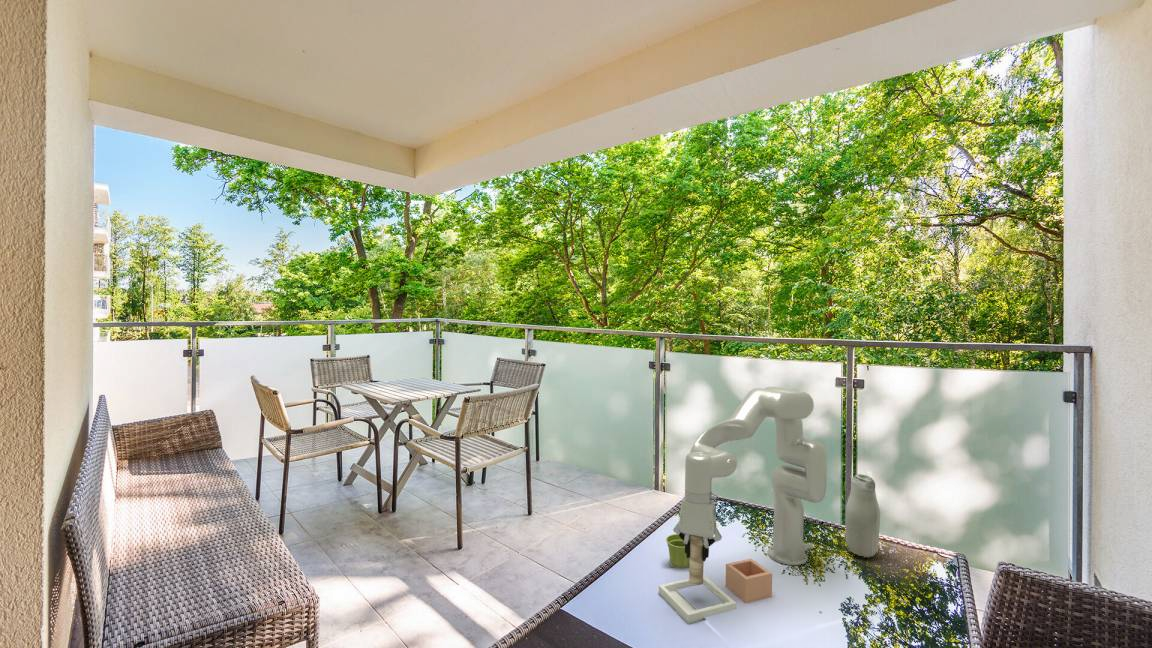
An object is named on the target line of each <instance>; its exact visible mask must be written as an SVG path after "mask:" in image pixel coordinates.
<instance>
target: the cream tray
mask: <svg viewBox="0 0 1152 648" xmlns="http://www.w3.org/2000/svg"><path fill="white" fill-rule="evenodd" d="M702 585H704V586H705V587H707V589H709V590H710V591H711V592H712V593H713V594H714V595H716V596H717V597H718V598H719V599H720V600H722V602H723V603H719V604H715V605H711V606H706V607H704V608H699V609H696V608H695V607H694V606H693V605H692V604H691V603H690V602H689V601H688V600H687V599H686V598H685V597H684V596H683V595H682V594H681V593H680V592H679V591H677V590H678V589H683V588H688V587H691V586H695V585H694V584H692V583H690V582H689V578H685V579H680V580H676V581H672V582H671V581H670V582H666V583H662V584H659V585H658V594H659V596H660V597H661V598H662V599H663V600H665V602H666V603H667V604H668V605H669V606H670V607H671V609H673V610H674V611H675V612H676V613H677V614H678V615H679V616H680V617H681V619H682V620H683V621H685V623H686V624H687V625H690V624H694V623H698V622H702V621H706V620H707V619H706V618H705V617H708V616H709V617H710V616H713V615H717V614H720V613H725V612H728V611H729V612H730V611H733V610H737V602H736V601H735V600H734V599H732V598H731V597H730V596H729V595H728V594H726V593H725V592H724V591H723V590H722V589H721V588H719V586H717V584H715V583H713V582H712V581H711V580H710V579H709V578H708V577H706V576H705V575H704V574H703V584H702Z"/></svg>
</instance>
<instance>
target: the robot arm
mask: <svg viewBox="0 0 1152 648" xmlns="http://www.w3.org/2000/svg"><path fill="white" fill-rule="evenodd" d="M814 406H815V405H814V399H813V397H812V396H811V395H810V394H809V393H807V392H805V391H800V390H795V389H794V390H793V389H788V388H783V387H774V386H770V387H769V386H768V387H764V388H761V387H757V388H752V389H751V390H750V391H748V392H747V394H746V395H745V396H744V398H743V399H742V400H741V402H740V403H739V405H738V406H737V407H736V409H734V412H733V413H732V414H731V415H730V417H729V418H728V419H725V420H722V421H721V422H719V423H717V424H714V425H712V426H711V427H709V428H707V429H706V430H705V431H704V432H702V433H701V434H700V436H699V437H698V438H697V440H696V441H695V442H694V444H693V446H692V447H691V449H690V452H688V453H687V455H686V456H685V463H684V465H685V466H684V467H685V469H684V470H685V471H684V473H685V474H684V496H683V497H682V500H681V504H680V511H679V521H678V522H677V523H676V525H675V526H674V527H673V529H672V530H673V532H674V534H678V535H679V536H680V538H681V539H682V540H683V541H684V544H685V553H687V558H689V557H690V535H693V536H699V537H703V540H704V547H703V553H702V561H704V562H706V560H707V558H709V556H710V555H709V554H710V547H711V546H712V545H713V544H714V543H716V542H719V541H722V538H723V537H722V535H721V533H720V531H719V529H718V528H717V516H716V515H717V514H716V504H715V501H714V500H717V494H715V493H713V490H712V487H713V486H712V485H713V484H712V483H713V482H712V481H713V479H714V478H715V479H716V478H727V477H729V476H731V475H732V474H734V473H735V471H736V469H737V466H738V464H737V459H736V457H735V456H734V455H733V454H732V453H731V452H728V451H727V450H722V449H720V448H717V447H719V446H720V445H722V444H724V443H728V442H733V441H740V440H741V441H742V440H746V439H750V438H752V437H753V436H754V435H755V433H756V432H757V430H758V429H759V427H760V426H761V424H762V423H763V422H764V420H765V419H766V418H773V419H774V422H775V450H776V453H775V454H776V456H777V459H779V461H781V462H784V463H787V464H781V465H780V464H779V465H777V466H776V467H774V469H773V470H772V474H771V485H772V491H773V529H772V530H773V531H772V532H773V538H772V539H773V540H772V546H770V547H769V548H768V550H767V554H768V556H769V557H770V558H771V559H772V560H773V561H776V562H777V563H780V564H782V565H787V566H788V565H789V566H802V565H804V564H806V563H807V562H808V555H807V553H806V551H807V550H811V549H813V548H814V544H813V543H812V542H808V543H805V541H804V521H805V519H804V518H805V517H804V515H805V509H804V508H805V507H804V503H803V501H805V502H810V503H815V504H816V503H817V504H818V503H821V502H822V501H823V500H824V498H825V497H826V493H827V486H828V485H827V482H828V481H827V478H828V477H827V476H828V475H827V474H828V472H827V471H828V470H827V465H828V462H827V461H828V458H827V457H828V456H827V452H826V449H825V447H824V445H823V444H822V443H820V442H819V441H817V440H813V439H809V438H805V436H804V429H803V428H804V427H803V420H804V419H806V418H809V416H811V414H812V413H813V410H814V408H815V407H814ZM802 500H803V501H802ZM806 561H807V562H806ZM805 562H806V563H805ZM801 564H802V565H801Z"/></svg>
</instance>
